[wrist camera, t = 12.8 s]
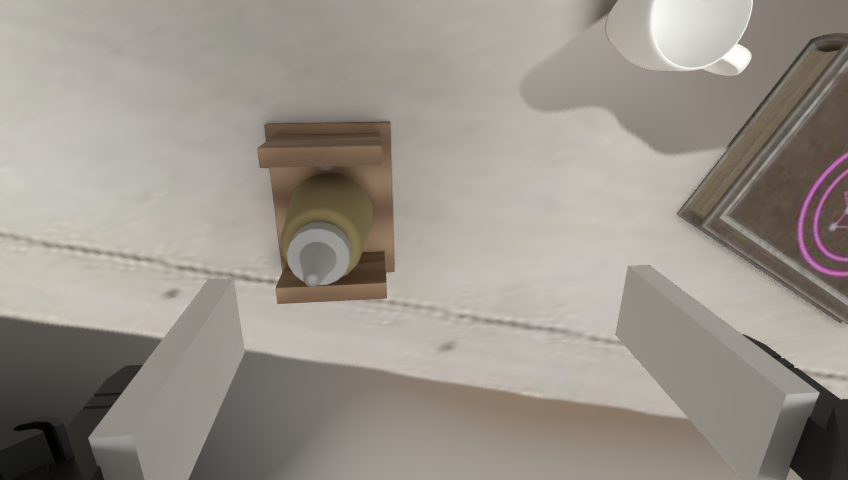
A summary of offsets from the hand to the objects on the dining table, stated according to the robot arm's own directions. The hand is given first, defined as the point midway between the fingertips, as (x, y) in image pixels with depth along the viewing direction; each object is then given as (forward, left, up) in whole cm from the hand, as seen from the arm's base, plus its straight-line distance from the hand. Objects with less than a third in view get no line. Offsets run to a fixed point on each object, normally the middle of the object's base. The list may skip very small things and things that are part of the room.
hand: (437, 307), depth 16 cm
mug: (-10, +24, -35) cm, 44 cm away
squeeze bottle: (+6, -7, -33) cm, 34 cm away
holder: (+6, -7, -34) cm, 35 cm away
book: (+7, +51, -35) cm, 62 cm away
